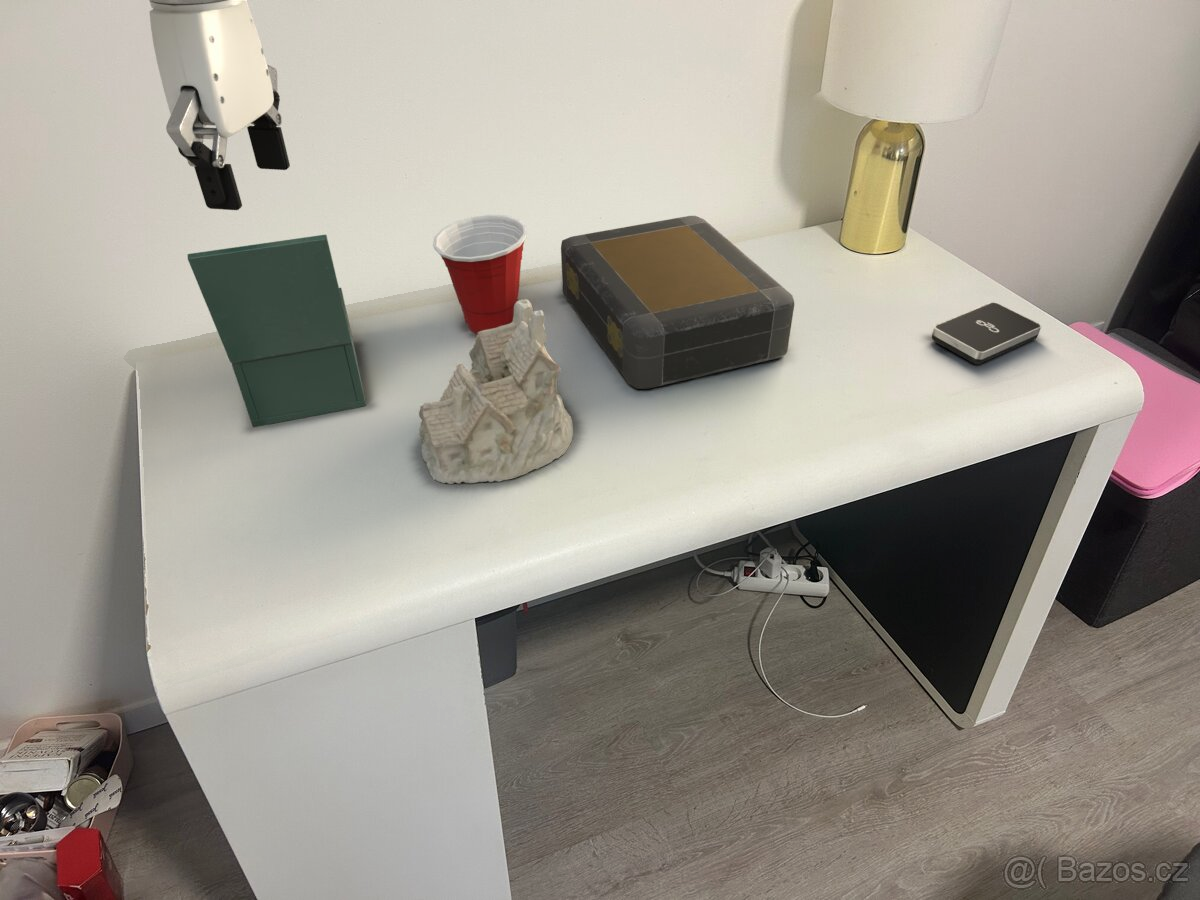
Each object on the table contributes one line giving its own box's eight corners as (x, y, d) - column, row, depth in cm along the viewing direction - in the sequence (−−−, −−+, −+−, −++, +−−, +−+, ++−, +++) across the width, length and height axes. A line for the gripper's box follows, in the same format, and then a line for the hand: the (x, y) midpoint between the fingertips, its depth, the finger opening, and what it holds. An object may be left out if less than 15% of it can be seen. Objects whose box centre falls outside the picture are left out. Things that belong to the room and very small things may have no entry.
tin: (251, 364, 97) (232, 304, 92) (354, 346, 100) (341, 287, 95) (253, 427, 88) (231, 364, 83) (366, 405, 91) (352, 343, 86)
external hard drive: (1038, 340, 99) (1043, 325, 98) (975, 369, 95) (980, 354, 94) (989, 315, 104) (993, 301, 103) (926, 341, 99) (930, 326, 98)
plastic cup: (438, 309, 106) (424, 219, 99) (522, 296, 109) (515, 207, 101) (453, 354, 98) (439, 260, 91) (543, 339, 101) (537, 245, 93)
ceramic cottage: (552, 373, 95) (537, 253, 85) (589, 469, 83) (576, 343, 73) (413, 402, 92) (381, 282, 82) (430, 505, 80) (395, 380, 70)
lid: (187, 253, 72) (187, 259, 72) (326, 233, 75) (327, 239, 75) (230, 358, 83) (230, 363, 83) (350, 337, 86) (351, 342, 85)
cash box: (796, 357, 97) (806, 297, 92) (634, 395, 92) (635, 334, 87) (699, 264, 115) (703, 210, 110) (558, 291, 110) (556, 236, 105)
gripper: (206, -37, 76) (256, 153, 87) (86, 4, 63) (163, 223, 73) (285, -36, 75) (325, 156, 86) (180, 7, 62) (244, 228, 73)
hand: (250, 187), depth 80 cm, fingers open, 9 cm apart
